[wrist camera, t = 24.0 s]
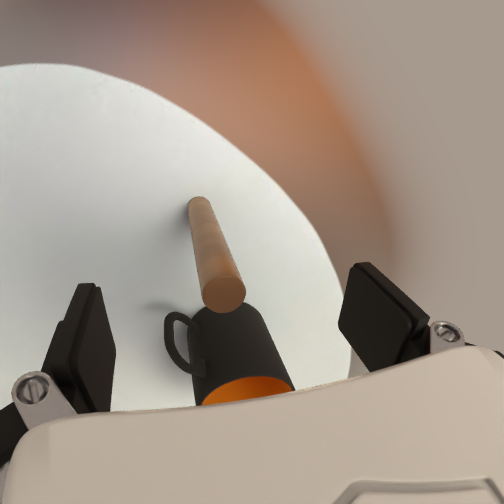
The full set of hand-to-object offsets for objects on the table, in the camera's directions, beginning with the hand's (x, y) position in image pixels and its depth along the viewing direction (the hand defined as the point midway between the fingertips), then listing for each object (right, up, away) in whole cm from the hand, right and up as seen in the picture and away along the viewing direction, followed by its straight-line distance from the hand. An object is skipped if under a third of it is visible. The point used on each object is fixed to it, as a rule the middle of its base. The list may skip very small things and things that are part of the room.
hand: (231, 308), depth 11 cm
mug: (-3, -5, +21) cm, 22 cm away
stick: (-4, +6, +15) cm, 17 cm away
